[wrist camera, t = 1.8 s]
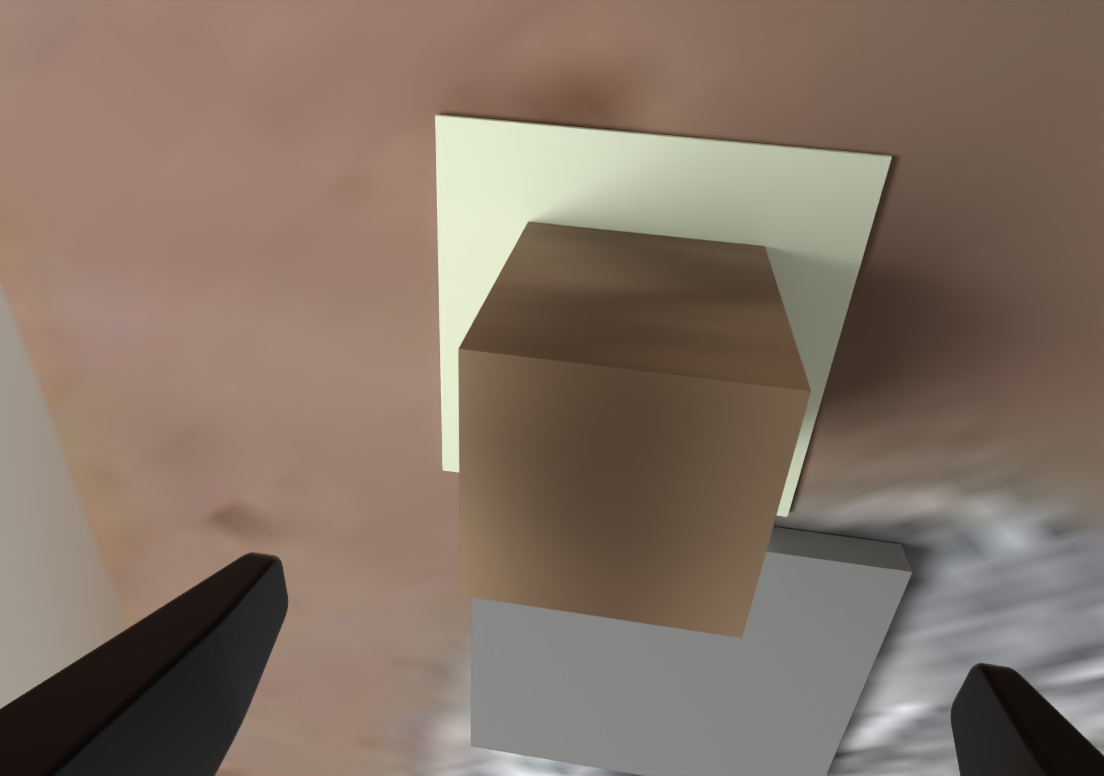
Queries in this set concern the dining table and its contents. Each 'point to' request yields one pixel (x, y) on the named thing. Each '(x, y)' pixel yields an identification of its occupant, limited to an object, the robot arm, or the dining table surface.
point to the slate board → (694, 671)
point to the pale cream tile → (652, 222)
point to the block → (626, 427)
